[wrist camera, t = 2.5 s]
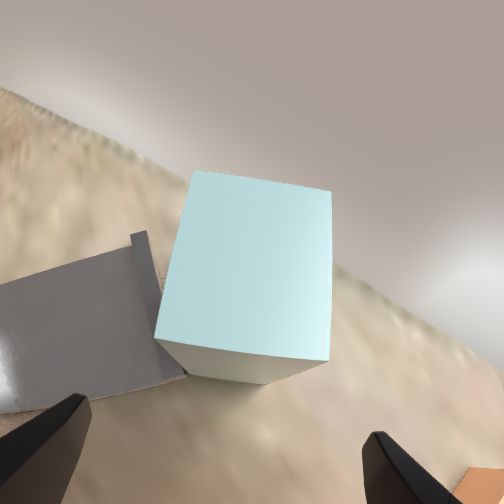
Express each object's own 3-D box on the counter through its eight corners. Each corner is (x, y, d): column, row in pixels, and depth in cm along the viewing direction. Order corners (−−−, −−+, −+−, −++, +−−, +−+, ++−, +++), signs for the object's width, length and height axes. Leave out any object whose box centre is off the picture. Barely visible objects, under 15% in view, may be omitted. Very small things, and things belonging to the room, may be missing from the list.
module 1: (269, 385, 20) (338, 361, 9) (190, 374, 20) (153, 337, 9) (278, 302, 23) (338, 193, 11) (204, 291, 23) (194, 170, 11)
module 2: (456, 528, 15) (500, 541, 9) (436, 513, 16) (482, 527, 11) (487, 484, 17) (533, 488, 11) (470, 466, 18) (518, 469, 12)
